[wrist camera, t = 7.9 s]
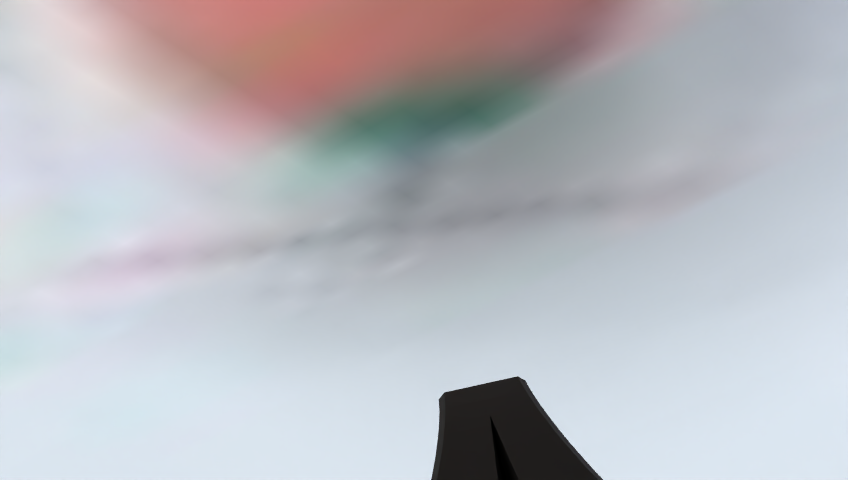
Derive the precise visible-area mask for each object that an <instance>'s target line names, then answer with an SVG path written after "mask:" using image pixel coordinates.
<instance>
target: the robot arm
mask: <svg viewBox="0 0 848 480" xmlns="http://www.w3.org/2000/svg"><path fill="white" fill-rule="evenodd" d="M439 408H440V416H439V433H438V442H437V450H436V458H435V463H434V469H433V474H432V479H431V480H603V479H602V478H601V477H600V476H599V475H598V474H597V473H596V472H595V471H594V470H593V469H592V467H591V466H590V465H589V464H588V463H587V462H586V461H585V460H584V458H583V457H582V456H581V455H580V454H579V453H578V452H577V451H576V449H575V448H574V447H573V446H572V445H571V444H570V443H569V441H568V440H567V439H566V438H565V437H564V435H563V434H562V433H561V432H560V430H559V429H558V428H557V427H556V425H555V424H554V423H553V421H552V420H551V419H550V417H549V416H548V415H547V413H546V412H545V411H544V409H543V408H542V407H541V405H540V404H539V402H538V401H537V399H536V398H535V396H534V395H533V393H532V392H531V390H530V388H529V387H528V385H527V383H526V381H525V380H523V379H521V378H520V377H513V378H508V379H504V380H499V381H495V382H490V383H486V384H481V385H477V386H472V387H468V388H463V389H458V390H454V391H449V392H445V393H444V394H443V395H442V396H441V397H440V399H439Z"/></svg>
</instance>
